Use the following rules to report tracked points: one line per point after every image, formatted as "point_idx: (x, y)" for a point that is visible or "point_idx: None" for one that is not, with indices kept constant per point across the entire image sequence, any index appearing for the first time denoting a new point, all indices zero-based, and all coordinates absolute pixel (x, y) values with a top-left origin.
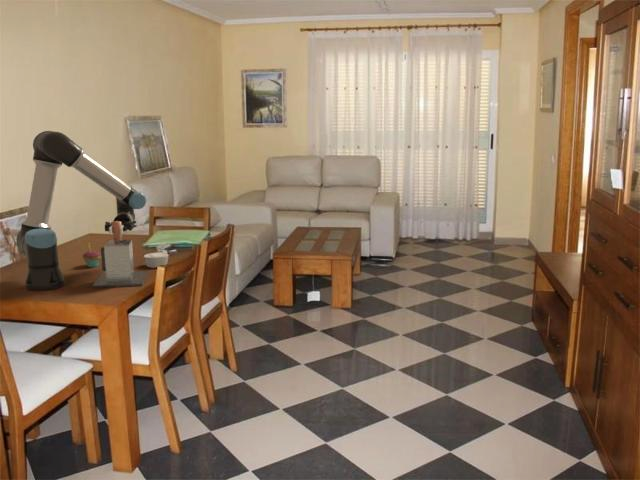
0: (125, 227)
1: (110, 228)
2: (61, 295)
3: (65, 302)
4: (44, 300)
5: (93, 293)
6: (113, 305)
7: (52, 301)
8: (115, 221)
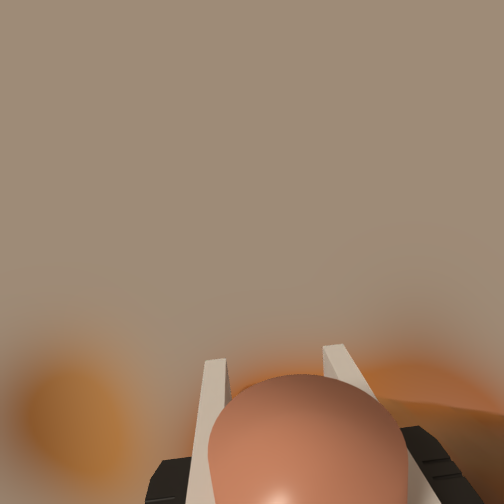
0: (152, 499)
1: (326, 348)
2: (488, 473)
3: (399, 404)
4: (492, 420)
5: None
6: (248, 385)
7: (452, 412)
8: (367, 493)
